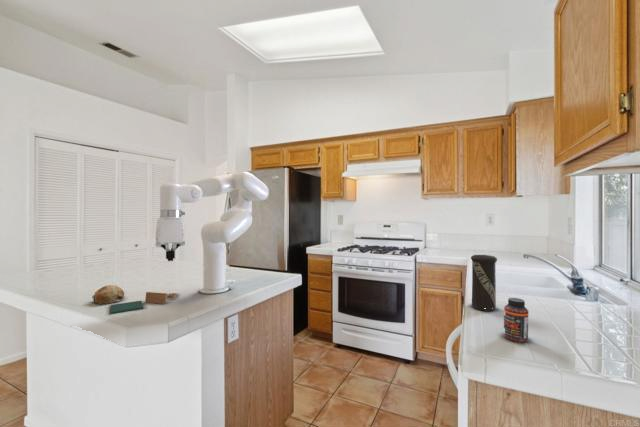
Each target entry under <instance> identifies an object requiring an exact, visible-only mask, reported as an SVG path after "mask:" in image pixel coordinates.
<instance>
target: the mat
mask: <svg viewBox="0 0 640 427" xmlns="http://www.w3.org/2000/svg"><path fill="white" fill-rule="evenodd" d="M143 309H144V305H143V302H142V300H136V301H129V302H122V303H116V304H115V303H114V304H110V311H109V312H110V315H112V314H119V313H125V312H131V311H138V310H143Z"/></svg>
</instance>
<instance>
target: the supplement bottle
mask: <svg viewBox="0 0 640 427" xmlns="http://www.w3.org/2000/svg"><path fill="white" fill-rule="evenodd" d="M525 306H526V302H525V300H524V299H522V298H519V297H508V300H507V304H505V306H504V307H503V337H504V338H506V339H507V340H509V341H512V342H516V343H525V342H528V340H529V309H528V308H527V307H525Z"/></svg>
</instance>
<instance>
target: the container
mask: <svg viewBox="0 0 640 427" xmlns="http://www.w3.org/2000/svg"><path fill="white" fill-rule="evenodd" d="M470 259H471V264H472V266H471V270H472V273H471V282H472V283H471V307H472V308H473V309H475V310H479V311H483V312H484V311H485V312H493V311H496V309H497V292H496V291H497V290H496V289H497V288H496V287H497V285H496V284H497V283H496V282H497V280H496V263H497V261H498V257H496V256H495V255H488V254H473V255H471V256H470ZM484 308H486V309H484ZM492 308H493V309H492Z"/></svg>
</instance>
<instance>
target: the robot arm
mask: <svg viewBox="0 0 640 427" xmlns="http://www.w3.org/2000/svg"><path fill="white" fill-rule="evenodd" d="M237 190H238V201H237V203H236V204H235V205H232V207H230V208H229V209H227V210H225V212H223V213H222V214H221V215H220V219H219V220H209V221H207V222H205V223H204V224H203V225H202V226H201V230H200V237H201V241H202V242H201V243H202V254H203V255H202V270H203V272H202V274H203V275H202V277H203V278H202V279H203V281H202V283H203V284H202V286H201V287H200V288H199V292H200V293H201V294H206V295H207V294H209V295H211V294H212V295H213V294H221V293H225V292H227V291H228V290H229V289H230V285H236V284H237V280H236V279H227V278H226V248H225V244H230V243H233V242H234V241H236V240H237V239H238V238H240V237H241V236H242V235H243V234H244V233H245V232H247V231H248V230H249V229H250V227H251V226H252V224H253V215H252V212H253V206H252V205H253V203H252V202H258V201H265V200H266V199H268V197H269V195H270V190H269V188H268V186H267V184H266V183H264V182H263V181H261V180H260V179H259V178H258V177H256V175H254V174H252V173H250V172H248V171H234V172H228V173H225V174H221V175H220V174H219V175H217V176H213V177H208V178H204V179H200V180H195V181H190V182H186V183H182V184H178V183H171V182H167V183H165V182H164V183H162V184H160V189H159V199H160V200H159V217H158V218H157V220H156V226H155V243H154V246H155V247H158V248H163V250H165V259H166V260H167V261H168V262H174V259H175V258H176V250H177V249H179V247H182V246H185V245H186V241H185V239H186V235H185V234H186V233H185V223H184V218H183V217H182V216H185V215H186V212H185V211H183V210H182V204H183V203H185V204H186V203H187V204H188V203H189V204H190V203H193V204H194V203H196V202H197V203H198V201H200V200H201V199H202V198H207V197H208V198H209V197H216V196H217V197H218V196H220V195H223V194H227V193H230V192H231V193H232V192H235V191H237ZM170 244H171V248H170Z"/></svg>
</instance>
